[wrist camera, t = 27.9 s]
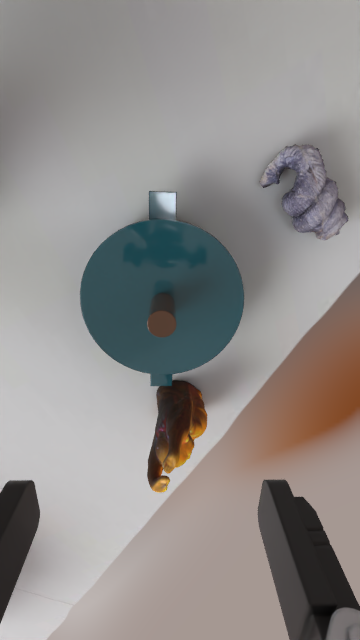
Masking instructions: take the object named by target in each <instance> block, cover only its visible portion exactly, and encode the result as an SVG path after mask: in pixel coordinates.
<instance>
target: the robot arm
mask: <svg viewBox="0 0 360 640" xmlns="http://www.w3.org/2000/svg"><path fill="white" fill-rule="evenodd" d="M39 518H40V509H39V504H38V499H37V494H36V490H35V485H34V482H33V481H32V480H27V481H8V482H7V483H6V485H5V486H4V488H3V490H2V491H1V493H0V623H1V620H2V618H3V615H4V613H5V610H6V608H7V605H8V603H9V600H10V597H11V595H12V592H13V590H14V587H15V585H16V582H17V580H18V577H19V574H20V572H21V569H22V567H23V564H24V562H25V559H26V557H27V554H28V552H29V549H30V546H31V544H32V541H33V539H34V536H35V534H36V531H37V528H38V524H39ZM258 522H259V527H260V532H261V535H262V539H263V543H264V546H265V550H266V554H267V558H268V561H269V565H270V569H271V572H272V576H273V580H274V583H275V587H276V591H277V594H278V598H279V602H280V606H281V609H282V613H283V616H284V620H285V624H286V627H287V631H288V635H289V639H290V640H360V606H359V604H358V602H357V600H356V598H355V596H354V594H353V591H352V589H351V587H350V585H349V583H348V581H347V578H346V577H345V574H344V572H343V570H342V568H341V565H340V563H339V561H338V559H337V557H336V555H335V552H334V550H333V548H332V546H331V545H330V543H329V540H328V538H327V535H326V533H325V531H324V530H323V526H322V524H321V522H320V520H319V518H318V516H317V513H316V511H315V510H314V509H313V508H312V507H311V505H310V504H309V503H308V502H307V501H306V500H305V499H304V498H303V497H294V496H293V494H292V492H291V489H290V487H289V484H288V483H287V481H286V480H264V481H263V484H262V489H261V495H260V500H259V506H258Z"/></svg>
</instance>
